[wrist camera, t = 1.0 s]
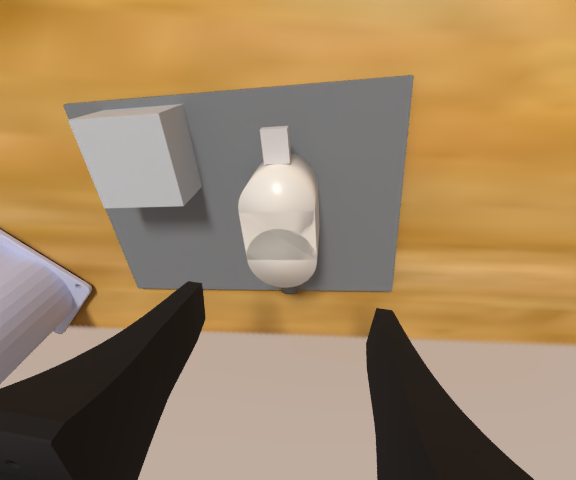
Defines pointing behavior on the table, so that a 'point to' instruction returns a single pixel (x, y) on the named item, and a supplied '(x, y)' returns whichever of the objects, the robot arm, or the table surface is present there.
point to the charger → (139, 156)
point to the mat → (243, 163)
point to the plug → (281, 214)
